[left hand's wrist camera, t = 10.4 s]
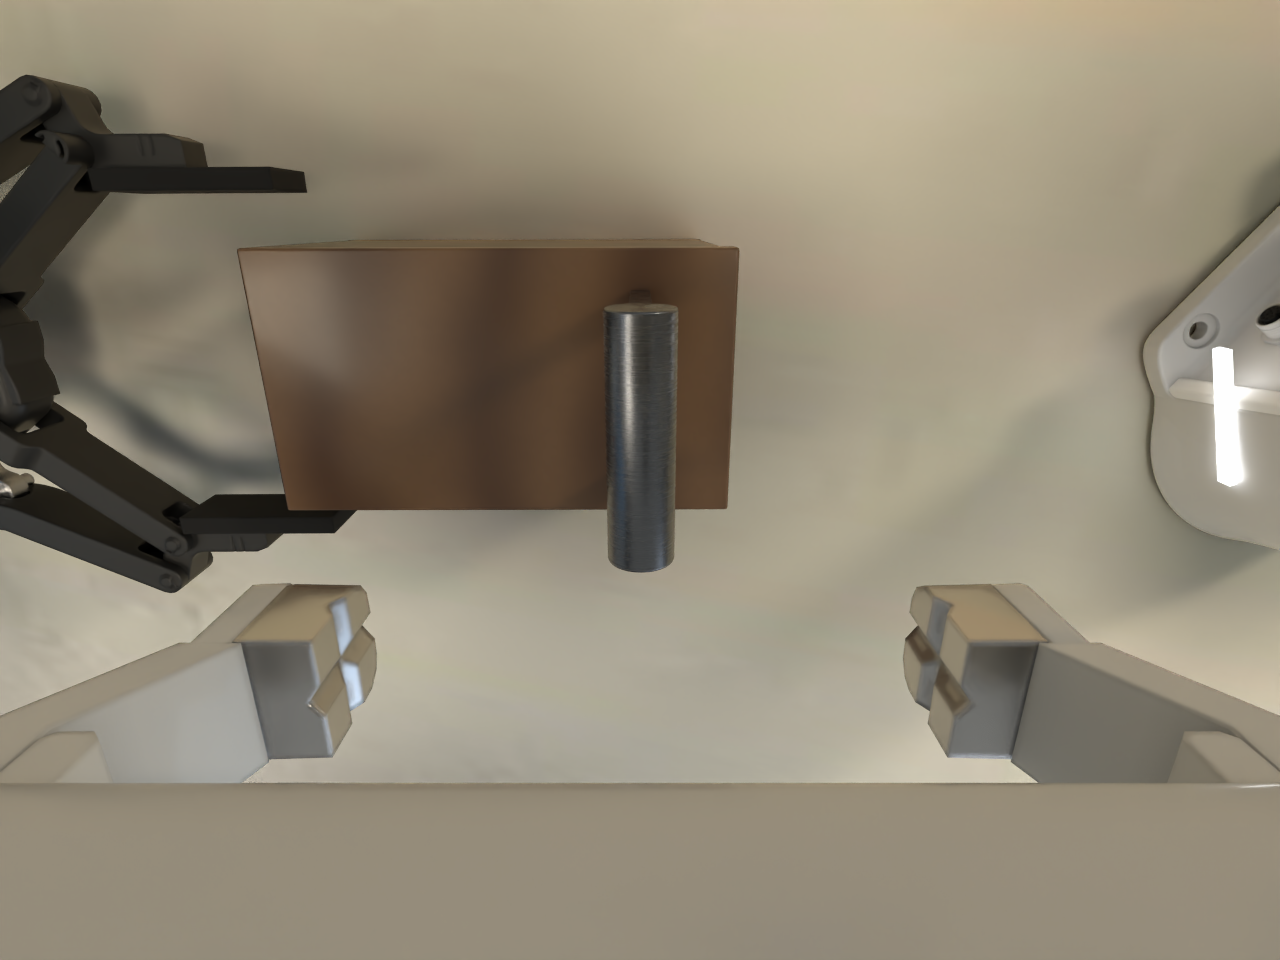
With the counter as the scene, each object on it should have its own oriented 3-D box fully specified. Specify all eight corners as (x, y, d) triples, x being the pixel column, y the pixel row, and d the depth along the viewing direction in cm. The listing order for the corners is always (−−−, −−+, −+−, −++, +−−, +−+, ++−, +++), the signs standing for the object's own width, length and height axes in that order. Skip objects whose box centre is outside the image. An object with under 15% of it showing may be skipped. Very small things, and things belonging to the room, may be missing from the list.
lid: (735, 246, 24) (782, 258, 16) (723, 498, 28) (758, 611, 20) (253, 247, 24) (64, 260, 16) (300, 500, 28) (164, 612, 20)
